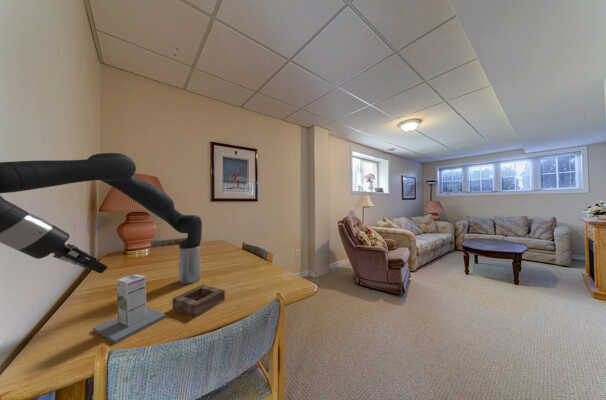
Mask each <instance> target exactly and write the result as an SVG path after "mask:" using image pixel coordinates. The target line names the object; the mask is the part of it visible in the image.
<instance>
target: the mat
mask: <svg viewBox="0 0 606 400" xmlns="http://www.w3.org/2000/svg"><path fill="white" fill-rule="evenodd" d="M146 310H147V318H145V319H143V320H141V321H139V322H137V323H135V324H133V325H131V326H129V327H127V326H125V325H122V324H120V323H118V316H117V317H114V318H112V319H109V320H107V321H105V322H102V323H100V324H97V325H95V326H93V327H92V331H93V330H94V331H96V332H98V333H99V334H101V335H103V336H104V337H106V338H107V339H106V338H105V339H106V340H108V339H109V340H110V342H111V341H112V342H111V343H113V344H115V345H116V344H118V343H120V342H122V341H123V339H124V340H125V338H126V339H127V338H130V337H131V336H133V335H135V334H137V333H139V332H140V331H143V330H145V329H147V328H149V327H151V326H152V325H154V324H156V323H158V322H160V321H162V320H163V319H167V314H165V313H162V312H160V311H157V310H155V309H152V308H149V307H147V306H146ZM94 331H93V332H94ZM96 332H95V333H96ZM98 333H97V334H98ZM99 334H98V335H99ZM101 335H100V336H101ZM103 336H102V337H103ZM104 337H103V338H104ZM109 340H108V341H109Z"/></svg>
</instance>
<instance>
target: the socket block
mask: <svg viewBox="0 0 606 400" xmlns="http://www.w3.org/2000/svg"><path fill="white" fill-rule="evenodd" d="M225 295H226V291H225V290H224V289H223V288H217V287H213V286H209V285H206V284H201V285H198V286H196V287H194V288H192V289H190V290H188V291H186V292H183V293H181V294H178V295H177V296H175V297H172V309H173V310H174V311H177V312H181V313H184V314H186V315H188V316H192V317H194V318H197V317H199V316H200V315H201V314H204V313H205V312H207V311H209V310H210V309H212V308H213V307H215V306H217V305H219V304H221V303H222V302H224V301H225V300H226V297H225Z"/></svg>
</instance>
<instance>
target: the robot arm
mask: <svg viewBox="0 0 606 400" xmlns="http://www.w3.org/2000/svg"><path fill="white" fill-rule="evenodd" d="M136 171H137V166H136V163H135V161H134V160H133V159H132V157H130V156H127V155H126V154H123V153H119V152H103V153H96V154H91V156H89V157H88V158H87V159H74V160H73V159H70V160H63V159H61V160H58V159H57V160H55V159H54V160H52V159H51V160H50V159H49V160H48V159H47V160H43V159H42V160H17V161H0V194H9V193H10V194H11V193H19V192H24V191H31V190H33V191H34V190H39V189H43V188H44V189H46V188H50V187H51V188H52V187H57V186H63V185H70V184H75V183H76V184H77V183H81V182H82V183H83V182H93V181H101V182H103V183H105V184H106V185H108V186H111V187H113V188H114V189H116V190H117V191H120V192H121V193H123V194H124V195H126V196H127V197H128V198H130V199H131V200H133V201H134V202H136V203H137V204H139V206H142V207H143V208H144V209H146V210H147V211H149V212H150V213H152V214H154V215H155V216H157V217H159V218H160V219H161V220H163V221H165V223H167V224H168V225H169V226H171V228H173V229H174V230H175V231H176V232H178V233H180V234H187V237H186V239H184V240H181V241H179V243H178V246H179V248H178V249H179V250H178V251H179V253H178V254H179V262H178V282H179V283H180V284H183V285H189V284H194V283H196V282H198V281H200V280H201V275H202V274H201V241H202V234H203V233H202V229H203V227H202V226H203V222H202V219H201V217H200V216H199V215H194V214H189V215H187V214H183V213H181V212H179V210H177V209H176V208H175V203H174V201H173V199H172V198H171V196H169V195H168V194H167V193H165V191H163V190H162V189H161V188H159V187H156V186H155V185H152V184H151V183H148V182H146V181H143V180H141V179H139V178H137V176H136V177H135V176H134V175H135V173H136ZM69 239H70V234H69V233H68V232H66V231H65V230H63V229H61V228H59V227H57V226H56V225H54V224H52V223H50V222H48V221H47V220H45V219H44V218H42V217H39V216H37V215H34V214H32V213H30V212H28V211H27V210H24V209H23V208H22V207H19V206H18V205H16V204H14V203H12V202H10V201H8V200H6V199H5V198H4V197H3V196H1V195H0V243H1V244H3V245H5V246H7V247H10V248H12V249H14V250H15V251H18V252H20V253H23V254H24V255H26V256H27V255H28V257H29V256H30V257H32V258H33V259H37V260H40V259H43V258H45V257H46V258H47V257H48V256H50V254H52V257H53V258H55V259H58V260H60V261H63V262H66V263H70V264H72V265H74V266H80V267H82V268H84V269H86V270H88V269H90V270H92V271H93V272H95V273H97V274H103V273H104V272H105V271H106V270H107V269H108V266H107V265H106V264H104V263H101V262H100V261H98V259H97V258H96V257H94V256H92V255H90V254H89V253H88V252H86V251H84V250H82V249H80V248H79V247H78V246H77V245H74V244H70V243H68V244H65V243H66V242H67V241H68V240H69Z"/></svg>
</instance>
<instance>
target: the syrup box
mask: <svg viewBox="0 0 606 400" xmlns="http://www.w3.org/2000/svg"><path fill="white" fill-rule="evenodd" d="M116 295H117V299H116V300H117V301H116V302H117V317H118V323H120V324H122V325H125V326H127V327H129V326H131V325H133V324H135V323H137V322H139V321H141V320H143V319H145V318H147V310H146V307H147V287H146V275H140V274H137V273H135V274H130V275H126V276H124V277H121V278H119V279H116Z"/></svg>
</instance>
